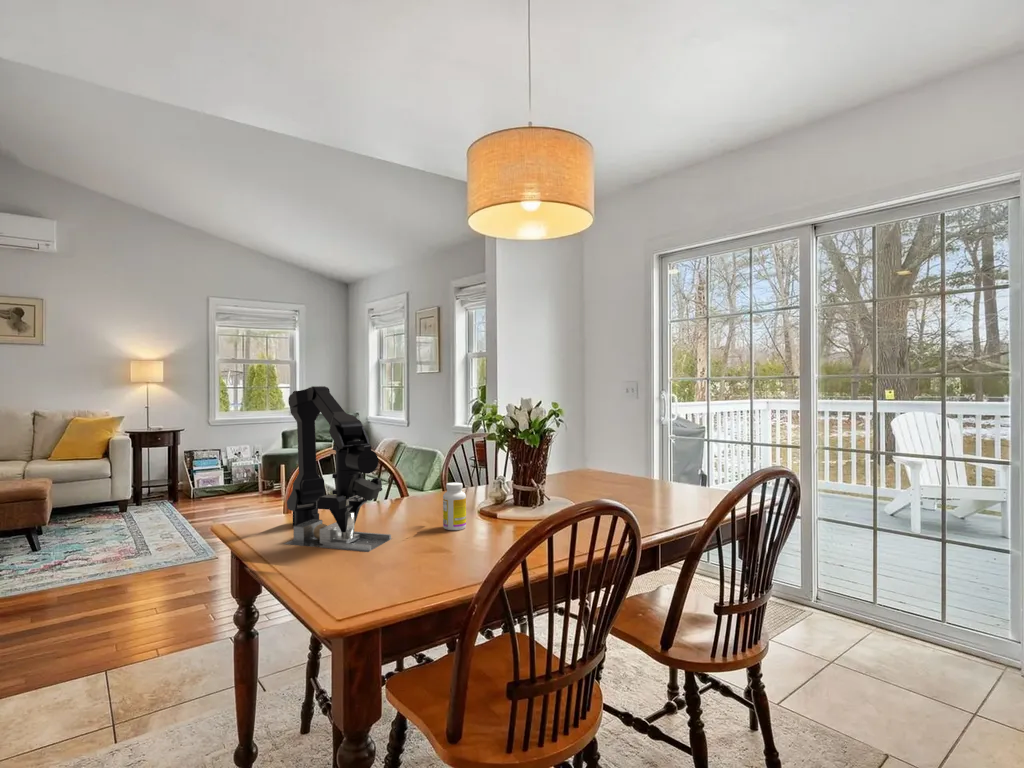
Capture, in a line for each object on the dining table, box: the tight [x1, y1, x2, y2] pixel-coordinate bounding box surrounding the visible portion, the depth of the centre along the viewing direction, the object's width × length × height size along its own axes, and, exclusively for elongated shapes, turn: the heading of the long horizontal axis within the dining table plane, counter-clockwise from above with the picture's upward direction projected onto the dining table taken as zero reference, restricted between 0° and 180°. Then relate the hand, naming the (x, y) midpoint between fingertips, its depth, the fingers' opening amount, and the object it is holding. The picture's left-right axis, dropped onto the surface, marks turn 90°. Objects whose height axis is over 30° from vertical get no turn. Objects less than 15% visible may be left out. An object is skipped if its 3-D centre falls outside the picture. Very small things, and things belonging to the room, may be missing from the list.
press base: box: [283, 519, 392, 553], centre depth 147 cm, size 24×12×6 cm, turn 74°
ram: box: [320, 511, 359, 544], centre depth 147 cm, size 7×8×7 cm
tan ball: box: [313, 523, 328, 540], centre depth 149 cm, size 4×4×4 cm
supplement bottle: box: [442, 482, 467, 531], centre depth 166 cm, size 7×7×13 cm
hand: (347, 530), depth 147 cm, fingers closed on ram, 3 cm apart
